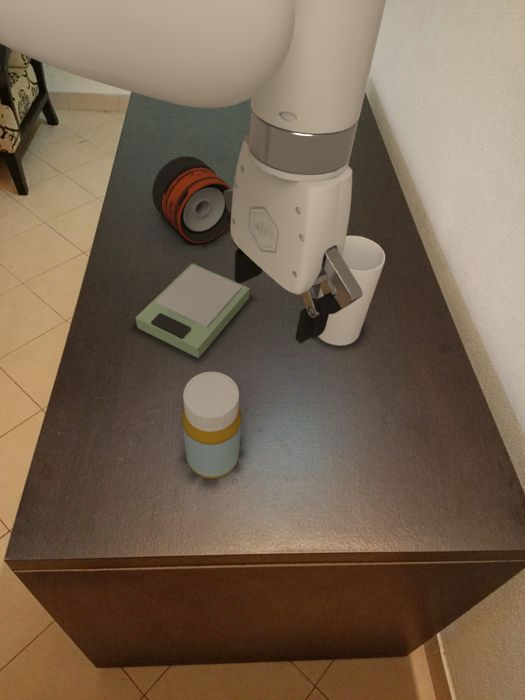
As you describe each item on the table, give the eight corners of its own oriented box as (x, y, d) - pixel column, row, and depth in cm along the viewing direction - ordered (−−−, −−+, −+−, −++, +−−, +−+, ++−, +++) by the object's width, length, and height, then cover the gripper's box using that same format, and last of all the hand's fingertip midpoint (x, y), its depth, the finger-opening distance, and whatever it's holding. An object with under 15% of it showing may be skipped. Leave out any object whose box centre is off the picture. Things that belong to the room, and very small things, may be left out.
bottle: (182, 478, 61) (174, 418, 49) (191, 431, 65) (184, 365, 54) (236, 482, 61) (239, 423, 49) (240, 435, 65) (245, 371, 54)
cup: (354, 351, 77) (380, 278, 64) (306, 337, 78) (322, 262, 66) (364, 317, 82) (389, 243, 70) (318, 304, 83) (336, 229, 71)
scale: (198, 358, 74) (197, 345, 71) (137, 328, 77) (134, 314, 74) (249, 298, 83) (250, 284, 80) (192, 273, 86) (191, 259, 84)
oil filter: (180, 253, 89) (174, 192, 80) (150, 220, 95) (141, 159, 85) (236, 232, 95) (238, 172, 85) (205, 202, 101) (203, 143, 91)
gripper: (191, 99, 36) (197, 270, 49) (348, 211, 28) (306, 380, 41) (267, 81, 39) (254, 246, 52) (428, 177, 31) (365, 343, 44)
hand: (277, 305), depth 47 cm, fingers open, 9 cm apart
